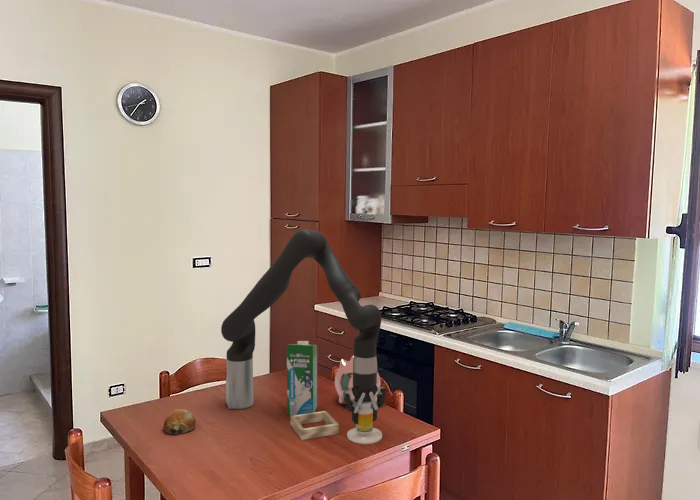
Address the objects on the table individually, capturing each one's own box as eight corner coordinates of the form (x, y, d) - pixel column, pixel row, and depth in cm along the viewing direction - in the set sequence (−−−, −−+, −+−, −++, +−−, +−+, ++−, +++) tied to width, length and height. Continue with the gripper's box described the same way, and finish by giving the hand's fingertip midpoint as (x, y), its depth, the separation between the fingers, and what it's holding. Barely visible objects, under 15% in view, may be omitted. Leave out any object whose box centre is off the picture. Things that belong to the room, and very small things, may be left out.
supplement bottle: (352, 429, 175) (353, 399, 174) (367, 426, 178) (368, 397, 177) (360, 435, 170) (360, 405, 169) (375, 432, 173) (376, 402, 172)
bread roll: (198, 438, 181) (205, 413, 183) (178, 436, 172) (185, 410, 174) (175, 432, 185) (181, 408, 187) (154, 430, 176) (161, 405, 178)
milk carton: (317, 406, 199) (317, 338, 196) (313, 416, 190) (312, 345, 187) (292, 405, 199) (291, 337, 197) (287, 415, 190) (286, 344, 188)
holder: (301, 440, 171) (301, 430, 171) (290, 424, 183) (290, 415, 182) (338, 433, 176) (338, 424, 176) (325, 419, 187) (325, 410, 187)
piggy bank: (353, 390, 215) (353, 350, 213) (388, 402, 203) (389, 360, 201) (324, 401, 204) (324, 358, 203) (360, 414, 192) (360, 369, 190)
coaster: (355, 446, 167) (355, 444, 167) (341, 432, 177) (341, 429, 177) (388, 440, 171) (388, 438, 171) (373, 426, 181) (373, 424, 181)
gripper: (380, 363, 178) (379, 414, 180) (338, 368, 173) (338, 420, 174) (391, 370, 171) (390, 423, 173) (347, 375, 166) (347, 430, 168)
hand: (364, 421), depth 174 cm, fingers closed on supplement bottle, 5 cm apart
